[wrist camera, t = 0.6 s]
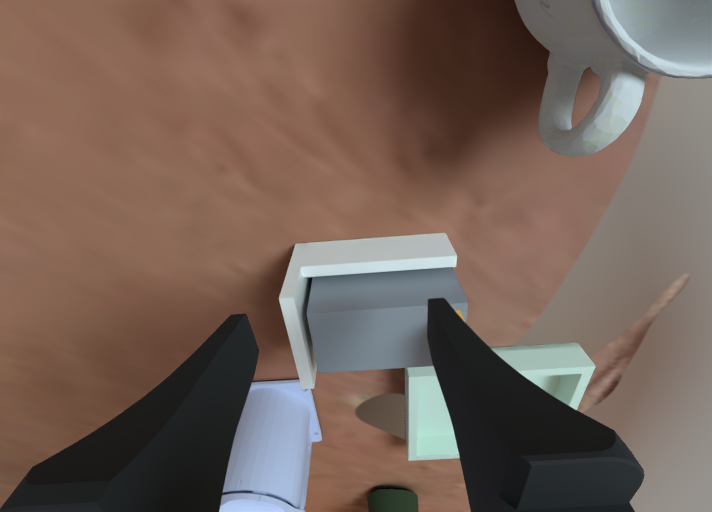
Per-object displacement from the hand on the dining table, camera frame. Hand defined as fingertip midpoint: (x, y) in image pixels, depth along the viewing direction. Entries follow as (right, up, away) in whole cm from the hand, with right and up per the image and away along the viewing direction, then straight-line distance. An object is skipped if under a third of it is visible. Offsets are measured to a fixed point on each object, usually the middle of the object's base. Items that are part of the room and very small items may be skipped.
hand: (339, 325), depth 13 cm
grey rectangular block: (+3, +1, +12) cm, 12 cm away
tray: (+13, -10, +18) cm, 25 cm away
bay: (+3, +1, +12) cm, 12 cm away
